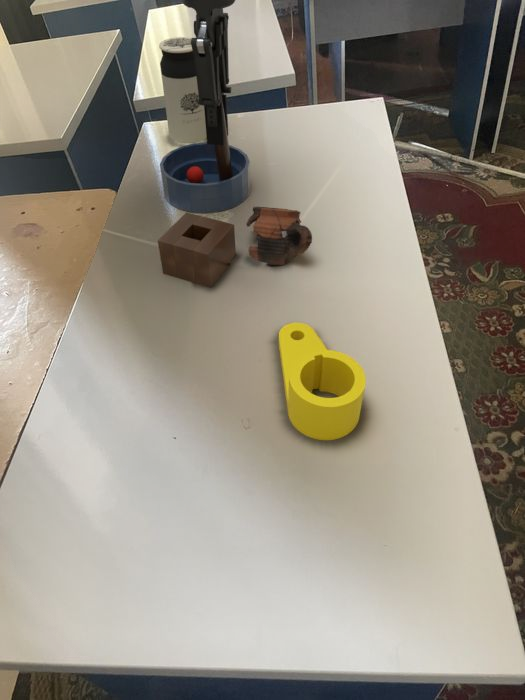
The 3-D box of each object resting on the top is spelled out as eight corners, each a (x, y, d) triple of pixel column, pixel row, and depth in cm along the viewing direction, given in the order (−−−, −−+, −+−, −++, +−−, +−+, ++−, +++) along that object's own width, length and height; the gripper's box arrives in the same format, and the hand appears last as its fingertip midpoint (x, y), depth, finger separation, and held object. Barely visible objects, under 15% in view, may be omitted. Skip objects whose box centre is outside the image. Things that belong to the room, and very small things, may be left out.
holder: (162, 274, 85) (157, 240, 81) (189, 244, 91) (186, 212, 86) (211, 288, 83) (207, 254, 79) (236, 257, 88) (234, 224, 84)
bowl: (148, 205, 99) (142, 173, 95) (191, 166, 109) (188, 136, 104) (225, 225, 94) (223, 193, 90) (263, 183, 104) (263, 151, 100)
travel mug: (168, 131, 119) (156, 37, 106) (206, 128, 120) (198, 35, 107) (171, 148, 114) (158, 52, 101) (210, 145, 115) (203, 49, 102)
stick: (217, 188, 99) (200, 80, 86) (226, 182, 100) (210, 74, 87) (229, 191, 98) (212, 82, 85) (237, 184, 99) (222, 76, 86)
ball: (184, 185, 102) (183, 167, 102) (199, 185, 104) (198, 168, 103) (191, 182, 100) (190, 164, 99) (207, 182, 101) (205, 165, 101)
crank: (369, 432, 65) (377, 398, 60) (299, 446, 63) (301, 413, 59) (321, 327, 77) (325, 292, 73) (261, 337, 76) (261, 303, 71)
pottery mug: (231, 258, 89) (235, 204, 86) (269, 257, 96) (273, 207, 94) (292, 270, 81) (298, 211, 79) (328, 267, 89) (335, 213, 87)
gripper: (221, -14, 70) (230, 163, 87) (245, -43, 81) (249, 120, 98) (163, -16, 71) (183, 160, 88) (193, -44, 82) (206, 118, 99)
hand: (217, 139), depth 93 cm, fingers closed on stick, 2 cm apart
